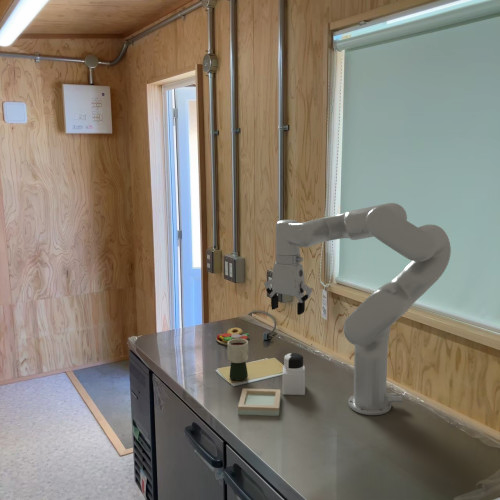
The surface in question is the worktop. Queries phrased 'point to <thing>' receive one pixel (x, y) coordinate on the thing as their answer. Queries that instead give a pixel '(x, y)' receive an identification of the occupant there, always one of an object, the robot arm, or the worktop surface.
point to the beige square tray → (259, 402)
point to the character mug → (238, 358)
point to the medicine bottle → (293, 375)
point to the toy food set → (231, 335)
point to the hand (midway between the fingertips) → (287, 311)
